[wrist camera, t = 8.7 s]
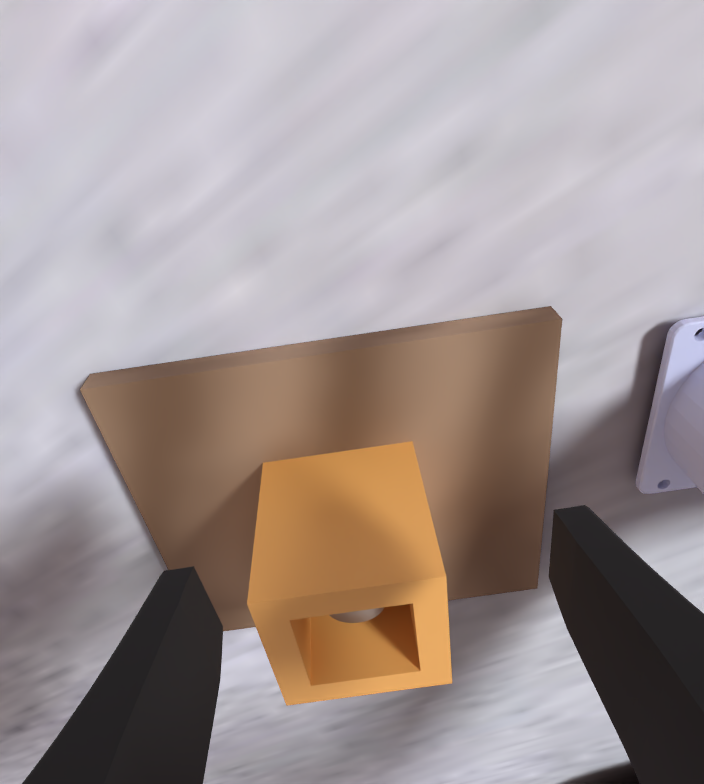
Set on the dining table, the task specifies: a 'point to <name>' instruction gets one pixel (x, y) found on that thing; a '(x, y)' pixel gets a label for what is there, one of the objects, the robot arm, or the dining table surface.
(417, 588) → the orange hollow cube
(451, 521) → the wooden board with peg
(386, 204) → the dining table surface
